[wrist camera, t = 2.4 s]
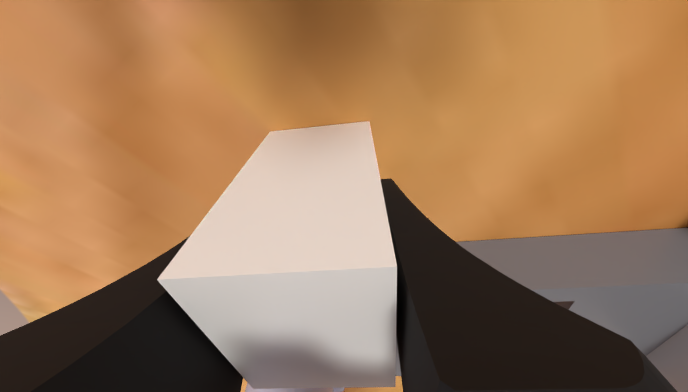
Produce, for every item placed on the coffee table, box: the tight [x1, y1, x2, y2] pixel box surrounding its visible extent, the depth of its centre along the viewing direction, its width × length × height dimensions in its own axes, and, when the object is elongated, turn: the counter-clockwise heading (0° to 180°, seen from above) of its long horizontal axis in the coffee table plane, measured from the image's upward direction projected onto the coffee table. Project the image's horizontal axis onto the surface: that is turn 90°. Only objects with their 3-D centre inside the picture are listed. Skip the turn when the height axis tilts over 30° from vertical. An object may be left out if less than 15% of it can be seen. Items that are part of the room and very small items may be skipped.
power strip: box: [395, 228, 688, 392], centre depth 12 cm, size 9×22×8 cm, turn 97°
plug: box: [157, 121, 397, 389], centre depth 8 cm, size 5×4×7 cm
